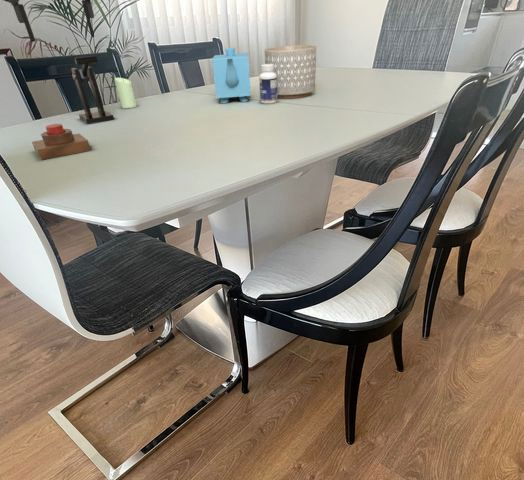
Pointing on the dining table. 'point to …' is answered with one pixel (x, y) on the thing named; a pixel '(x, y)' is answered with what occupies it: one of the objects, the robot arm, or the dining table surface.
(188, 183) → the dining table surface
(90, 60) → the lever
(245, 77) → the blue teardrop bottle box
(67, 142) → the button block
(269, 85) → the pill bottle
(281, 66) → the planter
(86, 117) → the bracket
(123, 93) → the candle
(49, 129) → the button
